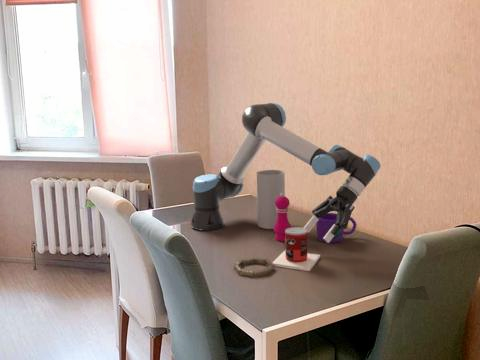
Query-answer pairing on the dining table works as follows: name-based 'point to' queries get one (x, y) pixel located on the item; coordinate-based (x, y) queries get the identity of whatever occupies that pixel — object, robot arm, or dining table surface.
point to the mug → (326, 224)
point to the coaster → (304, 265)
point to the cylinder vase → (269, 196)
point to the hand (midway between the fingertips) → (315, 235)
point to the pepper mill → (281, 217)
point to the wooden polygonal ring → (253, 273)
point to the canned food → (296, 244)
